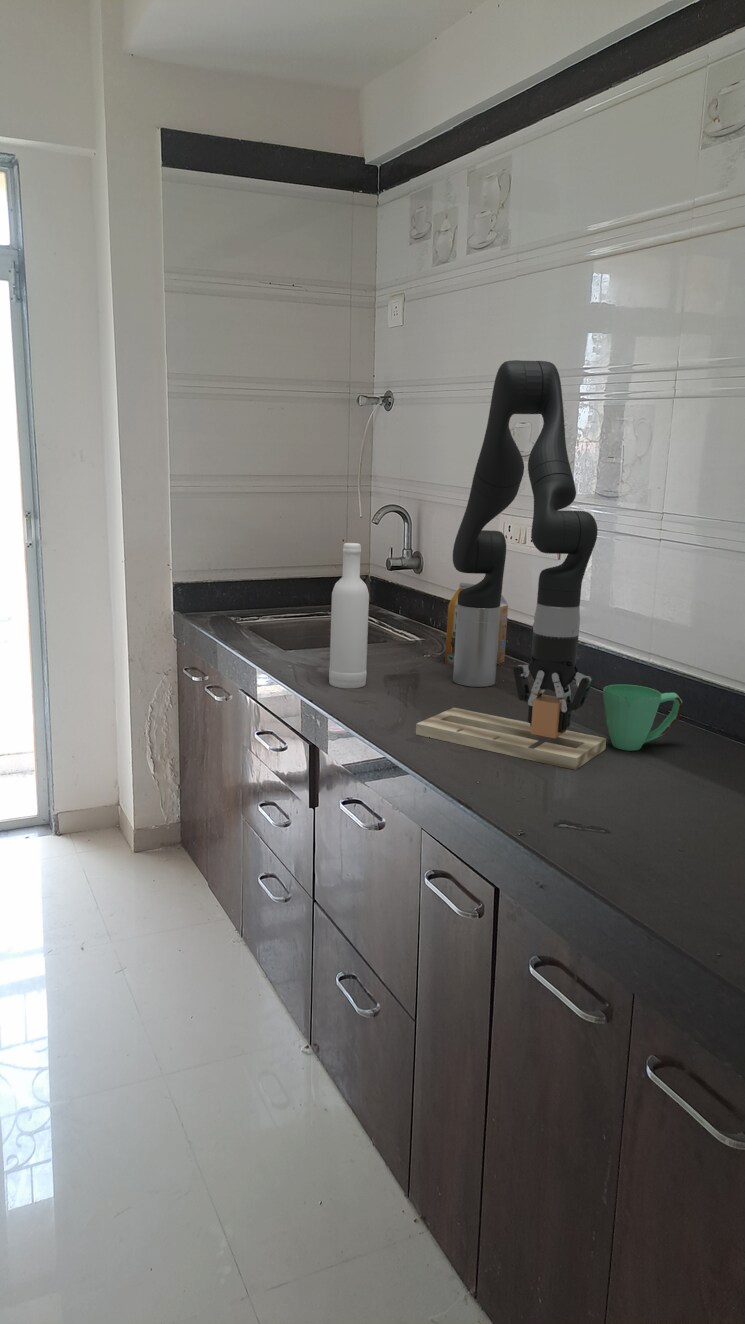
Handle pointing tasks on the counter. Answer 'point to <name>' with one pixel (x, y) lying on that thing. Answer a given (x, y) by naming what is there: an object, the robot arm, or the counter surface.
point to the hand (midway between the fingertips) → (548, 728)
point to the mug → (636, 714)
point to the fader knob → (546, 718)
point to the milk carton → (453, 619)
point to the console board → (510, 738)
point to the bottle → (349, 624)
